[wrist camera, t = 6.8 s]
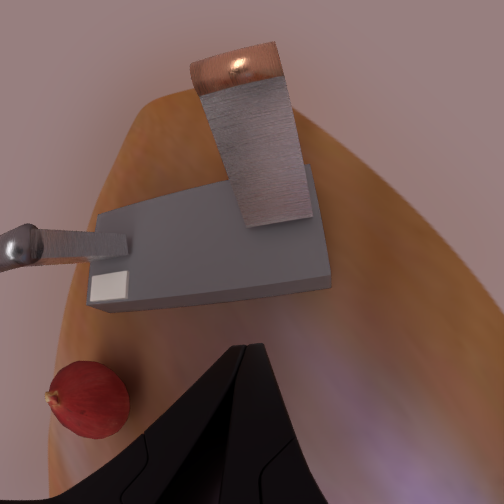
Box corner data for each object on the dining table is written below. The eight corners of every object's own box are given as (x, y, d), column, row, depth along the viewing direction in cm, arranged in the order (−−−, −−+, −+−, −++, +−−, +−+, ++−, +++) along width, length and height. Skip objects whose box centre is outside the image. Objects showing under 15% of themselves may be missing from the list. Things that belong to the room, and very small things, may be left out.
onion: (125, 445, 19) (52, 460, 11) (86, 395, 21) (14, 391, 14) (163, 402, 19) (88, 409, 12) (119, 350, 22) (44, 335, 15)
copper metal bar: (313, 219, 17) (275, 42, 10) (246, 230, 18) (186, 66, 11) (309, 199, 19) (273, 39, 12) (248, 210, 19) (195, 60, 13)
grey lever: (129, 257, 20) (16, 264, 11) (90, 265, 21) (-15, 273, 12) (125, 230, 21) (13, 222, 11) (87, 240, 21) (-17, 238, 12)
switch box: (331, 287, 20) (331, 273, 17) (109, 312, 23) (83, 304, 20) (313, 187, 23) (309, 161, 20) (117, 228, 26) (95, 213, 23)
